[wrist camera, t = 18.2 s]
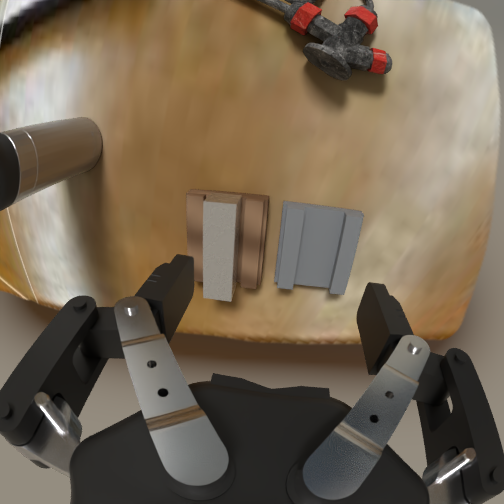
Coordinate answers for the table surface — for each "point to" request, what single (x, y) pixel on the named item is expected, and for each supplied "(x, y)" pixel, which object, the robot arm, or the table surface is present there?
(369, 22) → the valve
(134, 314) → the robot arm
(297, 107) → the table surface
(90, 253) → the table surface
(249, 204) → the cradle
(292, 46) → the table surface
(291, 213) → the grey channel bracket
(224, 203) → the block
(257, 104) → the table surface
